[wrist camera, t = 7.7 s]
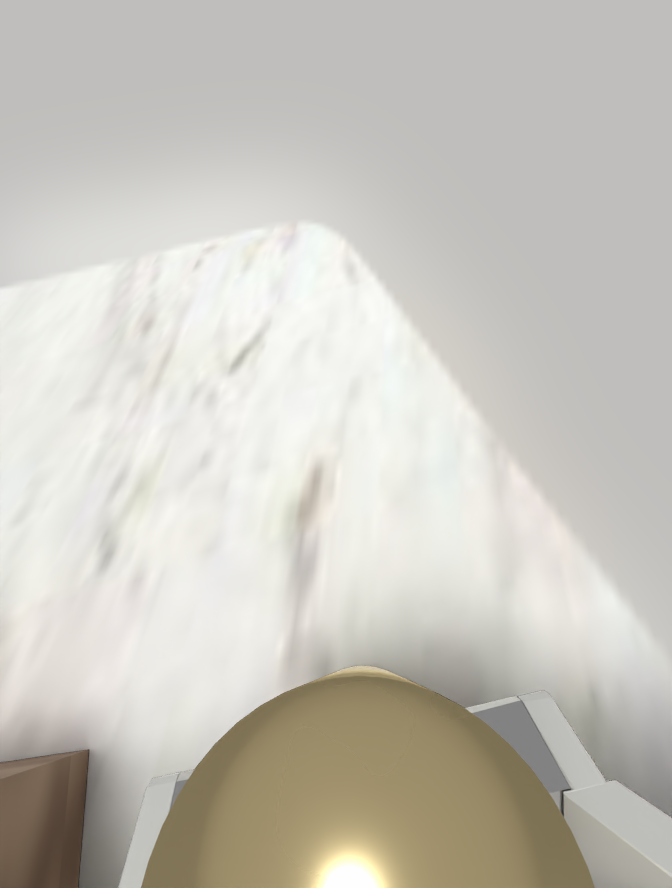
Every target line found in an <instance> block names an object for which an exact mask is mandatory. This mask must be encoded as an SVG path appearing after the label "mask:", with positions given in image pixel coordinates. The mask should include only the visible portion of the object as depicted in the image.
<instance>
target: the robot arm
mask: <svg viewBox="0 0 672 888" xmlns="http://www.w3.org/2000/svg"><path fill="white" fill-rule="evenodd" d="M465 709H466V710H468V711H469V712H471V713H472V714H474V715H475V716H476V717H478V718H479V719H481V720H482V721H484V722H485V723H486V724H487V725H489V726H490V727H491V728H492V729H493V730H494V731H495V732H496V733H498V734H499V735H500V736H501V737H502V738H503V739H504V740H505V741H506V742H508V743H509V744H510V745H511V746H512V748H513V749H514V750H515V751H516V752H517V753H518V754H519V755H520V756H521V758H522V759H523V760H524V761H525V762H526V763H527V764H528V765H529V767H530V768H531V769H532V770H533V771H534V773H535V774H536V776H537V777H538V778H539V780H540V781H541V783H542V784H543V785H544V787H545V788H546V790H547V791H548V792H549V794H550V795H551V797H552V798H553V800H554V801H555V803H556V805H557V807H558V808H559V810H560V812H561V814H562V815H563V817H564V819H565V820H566V822H567V824H568V826H569V827H570V829H571V831H572V833H573V835H574V838H575V840H576V842H577V844H578V846H579V849H580V851H581V853H582V855H583V858H584V860H585V862H586V864H587V866H588V869H589V872H590V875H591V878H592V881H593V884H594V887H595V888H672V818H671V817H670V816H668V815H667V814H665V813H664V812H662V811H661V810H660V809H658V808H657V807H655V806H654V805H652V804H651V803H649V802H648V801H646V800H645V799H643V798H642V797H640V796H639V795H637V794H636V793H634V792H633V791H631V790H630V789H628V788H627V787H625V786H624V785H622V784H621V783H619V782H618V781H616V780H613V781H607V782H606V780H605V779H604V777H603V775H602V774H601V772H600V771H599V769H598V768H597V766H596V765H595V763H594V762H593V760H592V758H591V757H590V755H589V754H588V752H587V751H586V749H585V748H584V746H583V745H582V743H581V741H580V740H579V738H578V737H577V735H576V734H575V732H574V731H573V729H572V728H571V726H570V724H569V723H568V721H567V720H566V718H565V717H564V715H563V714H562V712H561V711H560V709H559V707H558V706H557V704H556V703H555V701H554V700H553V698H552V697H551V695H550V694H549V693H547V692H546V691H545V690H541V691H537V692H533V693H529V694H524V695H520V696H517V697H516V696H512V697H508V698H504V699H500V700H496V701H492V702H488V703H483V704H479V705H475V706H471V707H467V708H465ZM194 770H195V769H194ZM194 770H189V771H184V772H178V773H174V774H169V775H165V776H160V777H156V778H152V780H151V782H150V783H149V785H148V787H147V789H146V790H145V794H144V798H143V801H142V805H141V808H140V812H139V815H138V819H137V822H136V826H135V829H134V833H133V836H132V840H131V843H130V847H129V850H128V854H127V857H126V861H125V865H124V868H123V872H122V875H121V879H120V882H119V886H118V888H141V886H142V882H143V879H144V875H145V871H146V868H147V864H148V861H149V858H150V856H151V853H152V851H153V848H154V845H155V843H156V840H157V838H158V835H159V833H160V830H161V827H162V825H163V823H164V821H165V819H166V817H167V815H168V813H169V812H170V810H171V808H172V806H173V804H174V802H175V800H176V798H177V796H178V794H179V793H180V791H181V790H182V788H183V786H184V785H185V783H186V782H187V780H188V779H189V777H190V776H191V774H192V773H193V771H194Z"/></svg>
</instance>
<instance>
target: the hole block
mask: <svg viewBox="0 0 672 888" xmlns="http://www.w3.org/2000/svg"><path fill="white" fill-rule="evenodd" d="M88 756H89V750H82V751H75V752H69V753H62V754H55V755H48V756H41V757H35V758H28V759H21V760H14V761H7V762H1V763H0V888H78V882H79V869H80V857H81V844H82V832H83V819H84V806H85V794H86V781H87V769H88Z"/></svg>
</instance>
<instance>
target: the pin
mask: <svg viewBox="0 0 672 888" xmlns="http://www.w3.org/2000/svg"><path fill="white" fill-rule="evenodd" d="M141 888H595V887H594V884H593V881H592V878H591V875H590V872H589V869H588V866H587V864H586V862H585V860H584V858H583V855H582V853H581V851H580V849H579V846H578V844H577V842H576V840H575V838H574V835H573V833H572V831H571V829H570V827H569V826H568V824H567V822H566V820H565V819H564V817H563V815H562V814H561V812H560V810H559V808H558V807H557V805H556V803H555V801H554V800H553V798H552V797H551V795H550V794H549V792H548V791H547V790H546V788H545V787H544V785H543V784H542V783H541V781H540V780H539V778H538V777H537V776H536V774H535V773H534V771H533V770H532V769H531V768H530V767H529V765H528V764H527V763H526V762H525V761H524V760H523V759H522V758H521V756H520V755H519V754H518V753H517V752H516V751H515V750H514V749H513V748H512V746H511V745H510V744H509V743H508V742H506V741H505V740H504V739H503V738H502V737H501V736H500V735H499V734H498V733H496V732H495V731H494V730H493V729H492V728H491V727H490V726H489V725H487V724H486V723H485V722H484V721H482V720H481V719H479V718H478V717H476V716H475V715H474V714H472V713H471V712H469V711H468V710H466V709H465V708H464V707H462V706H461V705H459V704H457V703H455V702H453V701H451V700H449V699H447V698H445V697H443V696H442V695H440V694H438V693H436V692H434V691H431V690H429V689H427V688H425V687H423V686H420V685H418V684H416V683H414V682H412V681H409V680H407V679H405V678H403V677H401V676H398V675H396V674H394V673H392V672H390V671H387V670H384V669H382V668H378V667H373V666H352V667H348V668H344V669H342V670H339V671H336V672H334V673H332V674H329V675H327V676H324V677H322V678H319V679H317V680H314V681H312V682H309V683H307V684H304V685H302V686H300V687H297V688H295V689H292V690H290V691H287V692H285V693H283V694H281V695H279V696H277V697H275V698H274V699H272V700H270V701H268V702H266V703H265V704H263V705H261V706H259V707H258V708H257V709H255V710H254V711H253V712H251V713H250V714H249V715H247V716H246V717H244V718H243V719H242V720H240V721H239V722H238V723H237V724H235V725H234V726H233V727H232V728H231V729H230V730H229V731H228V732H227V733H226V734H225V735H224V736H223V737H222V738H221V739H220V740H219V741H218V742H217V743H216V744H215V745H214V746H213V747H212V749H211V750H210V751H209V752H208V753H207V755H206V756H205V757H204V758H203V759H202V761H201V762H200V763H199V764H198V766H197V767H196V768H195V770H194V771H193V773H192V774H191V776H190V777H189V779H188V780H187V782H186V783H185V785H184V786H183V788H182V790H181V791H180V793H179V794H178V796H177V798H176V800H175V802H174V804H173V806H172V808H171V810H170V812H169V813H168V815H167V817H166V819H165V821H164V823H163V825H162V827H161V830H160V833H159V835H158V838H157V840H156V843H155V845H154V848H153V851H152V853H151V856H150V858H149V861H148V864H147V868H146V871H145V875H144V879H143V882H142V886H141Z"/></svg>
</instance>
